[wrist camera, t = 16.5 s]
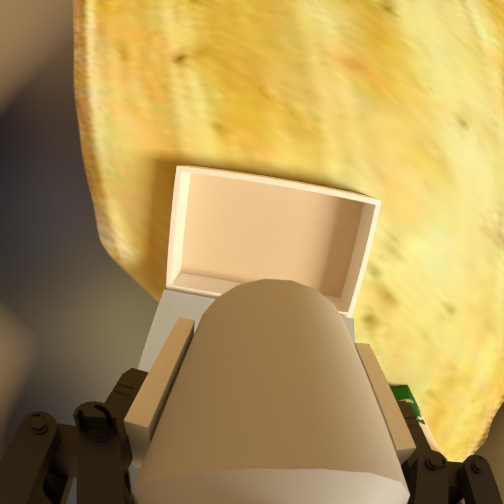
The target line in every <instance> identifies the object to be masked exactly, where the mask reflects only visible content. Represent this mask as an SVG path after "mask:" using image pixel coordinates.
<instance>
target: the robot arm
mask: <svg viewBox="0 0 504 504" xmlns="http://www.w3.org/2000/svg"><path fill="white" fill-rule="evenodd" d="M194 326H195V320H191V319H186V318H181V317H179V318H178V319H177V321H176V323H175V325H174V327H173V328H172V330H171V332H170V334H169V336H168V338H167V339H166V341H165V343H164V345H163V347H162V349H161V351H160V352H159V354H158V356H157V358H156V360H155V362H154V364H153V365H152V367H151V369H150V371H149V372H146V371H142V370H138V369H134V368H131V369H130V370H128V371H127V372H125V373H124V374H122V376H121V377H120V379H119V381H118V382H117V385H115V387H114V389H113V391H112V392H111V393H110V395H109V397H108V398H107V400H106V402H105V403H101V402H96V401H95V402H86V403H84V404H81V405H80V406H79V407H77V408H76V410H75V412H74V414H73V416H74V419H75V422H76V425H77V426H72V425H64V424H57V423H56V420H55V419H54V418H53V417H52V416H51V415H49V414H48V413H45V412H41V411H37V412H32V413H30V414H28V415H27V416H26V417H25V418H24V419H23V420H22V422H21V424H20V426H19V427H18V429H17V431H16V433H15V435H14V437H13V438H12V440H11V442H10V444H9V446H8V448H7V450H6V452H5V454H4V456H3V458H2V460H1V462H0V504H66V502H67V499H68V495H69V492H70V488H71V485H72V482H73V479H74V477H77V504H130V501H131V496H132V490H131V482H130V473H129V470H128V468H129V466H130V464H131V461H133V464H134V466H135V467H138V468H141V466H142V464H143V461H144V459H145V456H146V453H147V451H148V448H149V446H150V443H151V441H152V438H153V435H154V433H155V430H156V428H157V425H158V423H159V420H160V418H161V415H162V413H163V410H164V408H165V405H166V403H167V400H168V398H169V395H170V393H171V390H172V388H173V385H174V383H175V380H176V378H177V375H178V373H179V370H180V368H181V365H182V363H183V360H184V358H185V356H186V353H187V351H188V348H189V346H190V343H191V341H192V339H193V336H194ZM354 346H355V348H356V351H357V353H358V355H359V358H360V360H361V363H362V365H363V368H364V370H365V373H366V375H367V377H368V380H369V382H370V385H371V387H372V390H373V393H374V395H375V398H376V400H377V403H378V405H379V408H380V411H381V413H382V416H383V419H384V421H385V424H386V427H387V429H388V432H389V435H390V438H391V440H392V443H393V446H394V449H395V452H396V455H397V457H398V460H399V463H400V466H401V469H402V472H403V475H404V478H405V481H406V484H407V487H408V490H409V493H410V497H409V500H408V503H407V504H462V503H461V500H462V499H465V504H503V503H502V500H501V496H500V493H499V490H498V487H497V485H496V482H495V479H494V476H493V474H492V471H491V468H490V465H489V463H488V462H487V460H486V459H484V458H483V457H482V456H479V455H471V456H469V457H468V458H467V459H466V460H465V461H464V462H463V463H460V462H450V461H447V459H446V458H445V457H444V455H442V454H441V453H440V452H437V451H434V450H432V449H431V447H430V445H429V443H428V441H427V439H426V436H425V434H424V432H423V430H422V428H421V426H419V421H418V419H416V415H415V413H414V411H413V409H412V408H411V407H410V406H409V405H408V404H407V403H406V402H405V401H396V400H395V397H394V395H393V393H392V391H391V389H390V386H389V384H388V382H387V380H386V378H385V376H384V374H383V372H382V369H381V367H380V365H379V363H378V361H377V359H376V357H375V355H374V353H373V351H372V349H371V347H370V345H369V344H363V343H355V344H354Z"/></svg>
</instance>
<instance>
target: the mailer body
mask: <svg viewBox="0 0 504 504" xmlns="http://www.w3.org/2000/svg"><path fill="white" fill-rule="evenodd" d="M381 201H382V200H379V199H376V198H373V197H371V196H368V195H364V194H359V193H355V192H350V191H345V190H341V189H336V188H331V187H326V186H321V185H316V184H310V183H305V182H300V181H294V180H288V179H283V178H277V177H271V176H264V175H258V174H252V173H245V172H238V171H231V170H224V169H216V168H208V167H200V166H191V165H182V166H177V167H176V175H175V184H174V193H173V202H172V212H171V222H170V234H169V247H168V261H167V278H166V289H171V290H176V291H181V292H187V293H192V294H197V295H203V296H209V297H214V298H217V297H219V296H220V295H222V294H224V293H225V292H227V291H229V290H231V289H232V288H234V287H236V286H237V285H240V284H244V283H249V282H253V281H257V280H261V279H277V280H292V281H294V282H297V283H300V284H303V285H305V286H308V287H311V288H313V289H316V290H317V291H318V292H319V293H321V294H322V295H323V296H324V297H326V298H327V299H328V300H329V301H331V302H332V303H333V304H334V306H335V307H336V309H337V311H338V312H339V314H340V316H343V317H352V314H353V311H354V308H355V304H356V301H357V298H358V294H359V291H360V287H361V284H362V280H363V277H364V273H365V269H366V265H367V262H368V258H369V254H370V250H371V246H372V242H373V238H374V233H375V229H376V225H377V220H378V216H379V211H380V206H381Z"/></svg>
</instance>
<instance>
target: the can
mask: <svg viewBox="0 0 504 504" xmlns="http://www.w3.org/2000/svg"><path fill="white" fill-rule="evenodd" d="M409 497H410V493H409V490H408V487H407V484H406V481H405V478H404V475H403V472H402V469H401V466H400V463H399V460H398V457H397V455H396V452H395V449H394V446H393V443H392V440H391V438H390V435H389V432H388V429H387V427H386V424H385V421H384V419H383V416H382V413H381V411H380V408H379V405H378V403H377V400H376V398H375V395H374V393H373V390H372V387H371V385H370V382H369V380H368V377H367V375H366V373H365V370H364V368H363V365H362V363H361V360H360V358H359V355H358V353H357V351H356V348H355V346H354V344H353V341H352V339H351V336H350V334H349V332H348V329H347V327H346V325H345V323H344V321H343V319H342V317H341V316H340V314H339V312H338V311H337V309H336V307H335V306H334V304H333V303H332V302H331V301H329V300H328V299H327V298H326V297H324V296H323V295H322V294H321V293H319V292H318V291H317V290H316V289H313V288H311V287H308V286H305V285H303V284H300V283H297V282H294V281H292V280H277V279H261V280H257V281H253V282H249V283H244V284H240V285H237V286H236V287H234V288H232V289H231V290H229V291H227V292H225V293H224V294H222V295H220V296H219V297H217V298H216V299H215V300H214V302H213V303H212V304H211V305H210V306H209V308H208V309H207V310H206V311H205V312H204V313H203V315H202V317H201V319H200V322H199V324H198V327H197V329H196V331H195V334H194V336H193V339H192V341H191V343H190V346H189V348H188V351H187V353H186V356H185V358H184V360H183V363H182V365H181V368H180V370H179V373H178V375H177V378H176V380H175V383H174V385H173V388H172V390H171V393H170V395H169V398H168V400H167V403H166V405H165V408H164V410H163V413H162V415H161V418H160V420H159V423H158V425H157V428H156V430H155V433H154V435H153V438H152V441H151V443H150V446H149V448H148V451H147V453H146V456H145V459H144V461H143V464H142V466H141V469H140V472H139V474H138V477H137V480H136V482H135V485H134V488H133V491H132V496H131V501H130V504H407V503H408V500H409Z"/></svg>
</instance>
